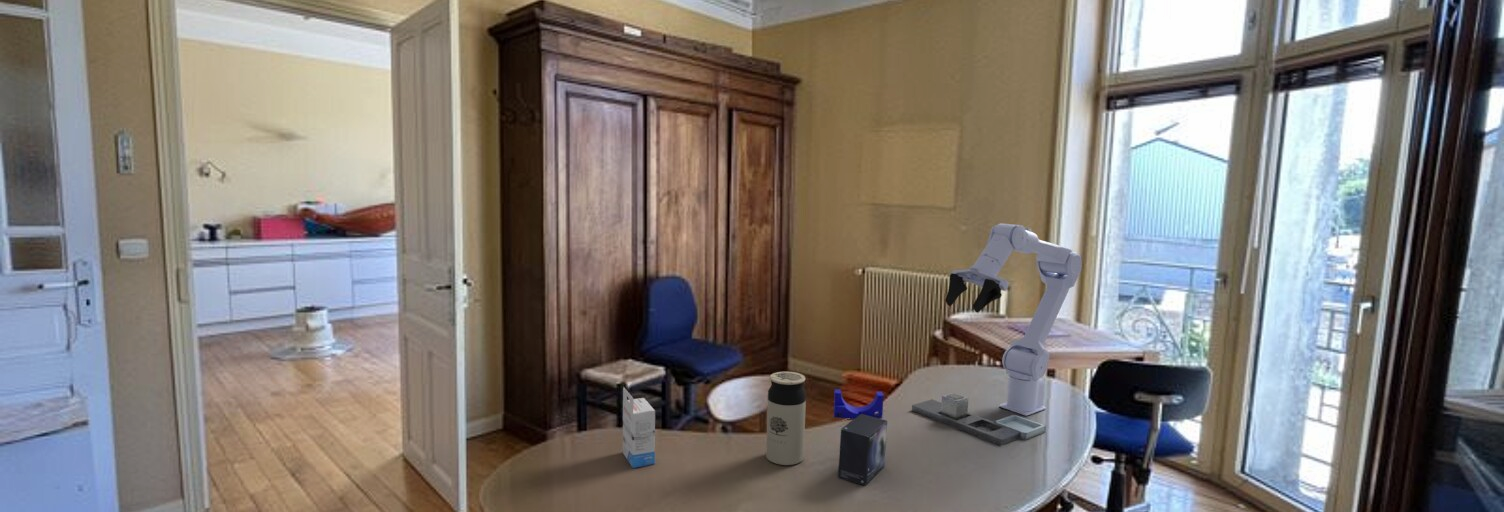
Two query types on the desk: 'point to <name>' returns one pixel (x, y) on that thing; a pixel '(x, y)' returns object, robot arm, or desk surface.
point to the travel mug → (786, 418)
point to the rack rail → (969, 423)
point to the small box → (862, 449)
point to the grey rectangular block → (954, 406)
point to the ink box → (638, 431)
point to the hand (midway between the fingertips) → (961, 306)
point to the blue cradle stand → (852, 412)
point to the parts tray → (1022, 426)
